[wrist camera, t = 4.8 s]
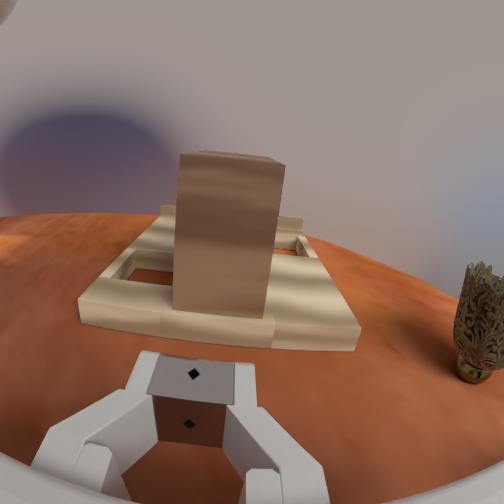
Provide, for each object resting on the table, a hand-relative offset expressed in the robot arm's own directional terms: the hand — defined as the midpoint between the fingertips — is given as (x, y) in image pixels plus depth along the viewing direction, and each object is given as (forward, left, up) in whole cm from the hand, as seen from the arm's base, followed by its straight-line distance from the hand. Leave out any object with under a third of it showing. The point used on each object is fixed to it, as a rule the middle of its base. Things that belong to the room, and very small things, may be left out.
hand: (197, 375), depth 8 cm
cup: (+16, +14, -7) cm, 22 cm away
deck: (-8, +23, -7) cm, 25 cm away
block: (-6, +16, -5) cm, 18 cm away
